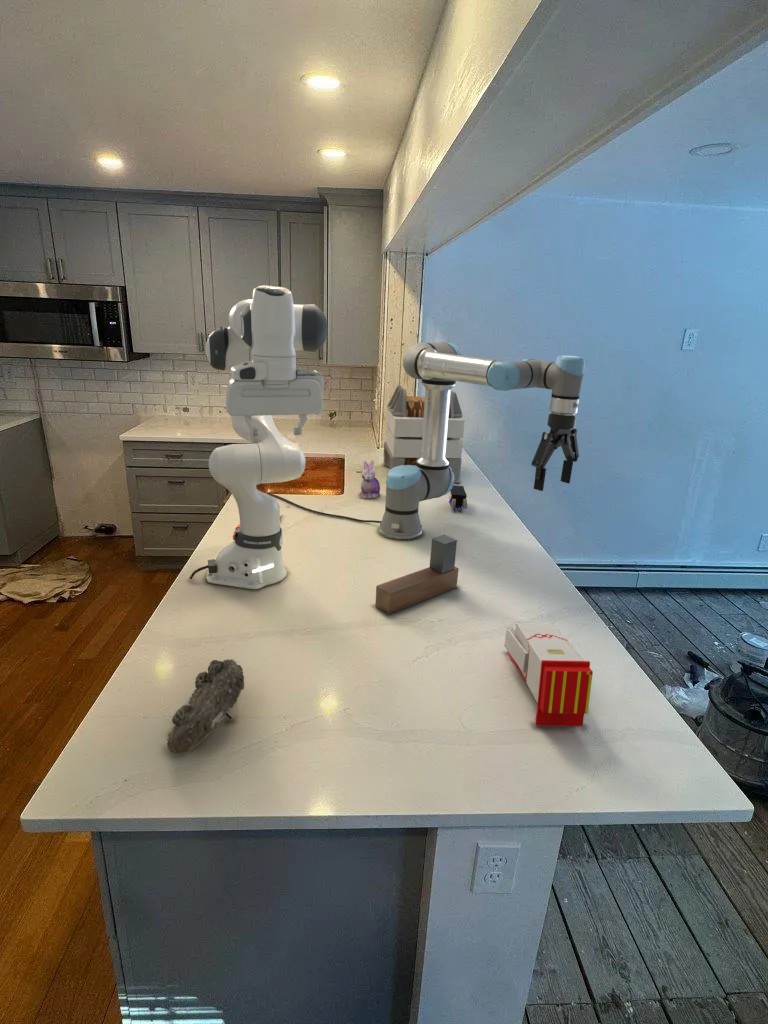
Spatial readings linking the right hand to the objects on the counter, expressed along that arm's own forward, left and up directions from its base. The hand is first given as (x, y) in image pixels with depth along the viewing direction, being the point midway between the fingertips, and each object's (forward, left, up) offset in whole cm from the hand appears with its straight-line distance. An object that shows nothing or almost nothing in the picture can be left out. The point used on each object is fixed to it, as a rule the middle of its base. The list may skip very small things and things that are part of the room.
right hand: (552, 485), depth 166 cm
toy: (+33, -47, -28) cm, 64 cm away
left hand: (-19, -80, +20) cm, 85 cm away
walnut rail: (-11, -41, -28) cm, 51 cm away
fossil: (+1, -107, -28) cm, 110 cm away
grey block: (-11, -32, -22) cm, 41 cm away
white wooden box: (-101, +46, -28) cm, 115 cm away
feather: (-84, -41, -28) cm, 98 cm away
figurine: (-87, +4, -28) cm, 92 cm away
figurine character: (-56, +24, -28) cm, 67 cm away
